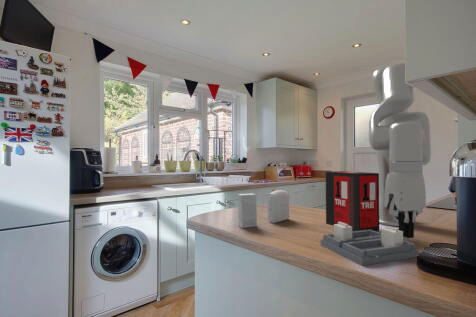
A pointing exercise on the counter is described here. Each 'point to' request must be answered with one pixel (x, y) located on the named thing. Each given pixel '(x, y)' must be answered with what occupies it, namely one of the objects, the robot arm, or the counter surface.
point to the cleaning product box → (353, 199)
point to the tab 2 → (391, 236)
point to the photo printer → (278, 206)
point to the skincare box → (247, 210)
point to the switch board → (368, 248)
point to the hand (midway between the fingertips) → (406, 236)
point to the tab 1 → (342, 231)
